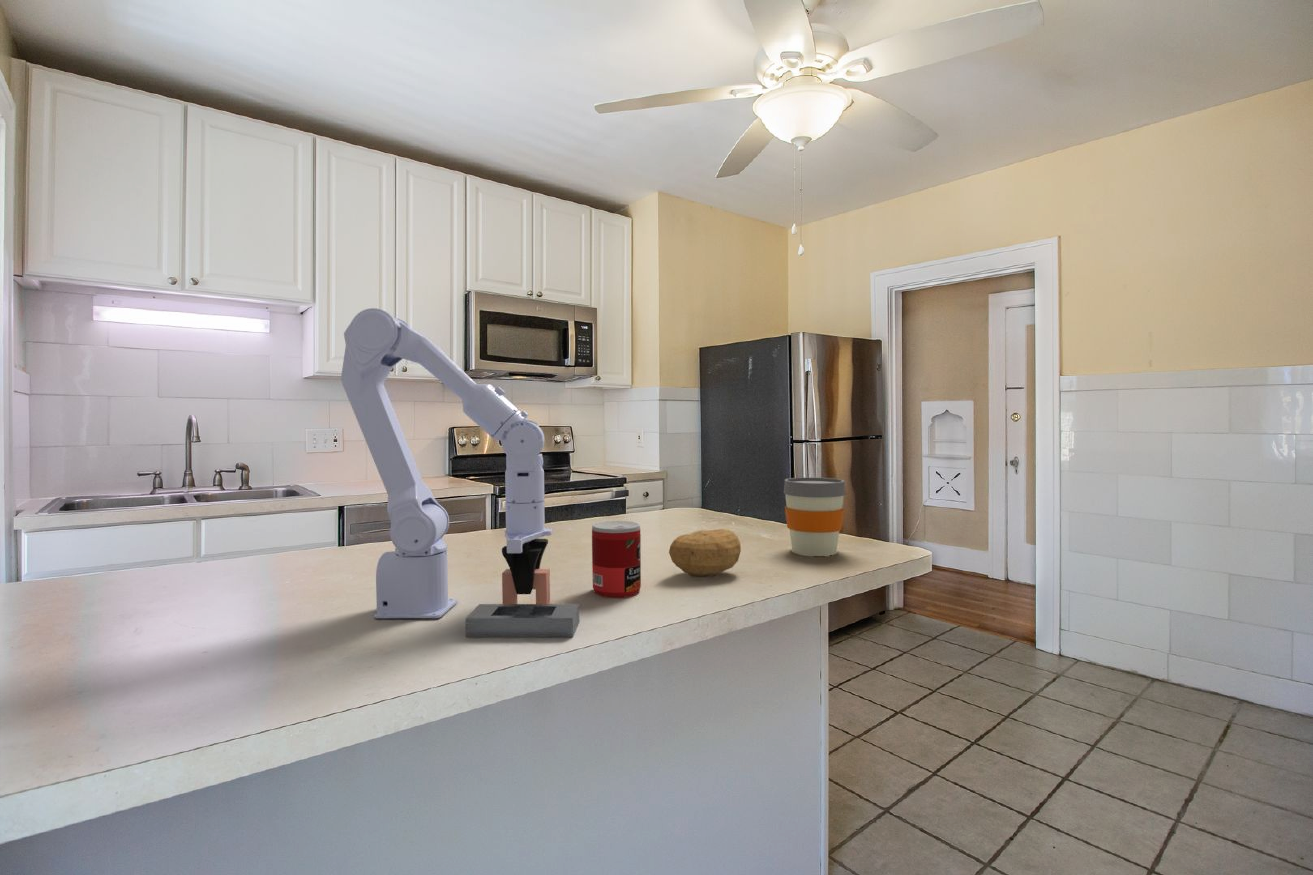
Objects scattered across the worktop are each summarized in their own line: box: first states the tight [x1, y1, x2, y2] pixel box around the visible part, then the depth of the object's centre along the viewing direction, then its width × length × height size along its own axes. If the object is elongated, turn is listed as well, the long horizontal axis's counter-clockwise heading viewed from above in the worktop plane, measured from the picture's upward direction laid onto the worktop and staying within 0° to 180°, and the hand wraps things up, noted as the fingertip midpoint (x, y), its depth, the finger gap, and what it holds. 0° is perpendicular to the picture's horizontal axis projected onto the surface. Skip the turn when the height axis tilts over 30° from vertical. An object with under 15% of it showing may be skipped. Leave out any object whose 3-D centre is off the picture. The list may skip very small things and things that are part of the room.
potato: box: [668, 528, 742, 578], centre depth 111 cm, size 10×14×8 cm
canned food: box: [591, 520, 642, 599], centre depth 101 cm, size 8×8×11 cm
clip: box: [501, 568, 551, 604], centre depth 94 cm, size 7×3×5 cm, turn 89°
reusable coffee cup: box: [783, 477, 846, 557], centre depth 130 cm, size 13×13×15 cm
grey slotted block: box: [465, 603, 581, 638], centre depth 84 cm, size 14×6×2 cm, turn 89°
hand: (526, 590), depth 94 cm, fingers closed on clip, 3 cm apart
